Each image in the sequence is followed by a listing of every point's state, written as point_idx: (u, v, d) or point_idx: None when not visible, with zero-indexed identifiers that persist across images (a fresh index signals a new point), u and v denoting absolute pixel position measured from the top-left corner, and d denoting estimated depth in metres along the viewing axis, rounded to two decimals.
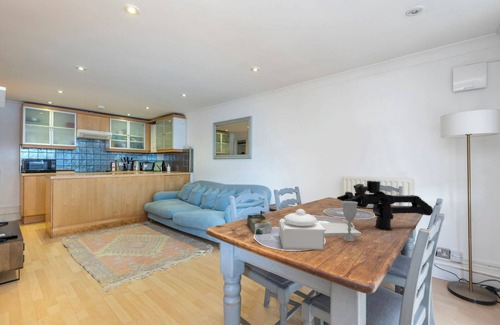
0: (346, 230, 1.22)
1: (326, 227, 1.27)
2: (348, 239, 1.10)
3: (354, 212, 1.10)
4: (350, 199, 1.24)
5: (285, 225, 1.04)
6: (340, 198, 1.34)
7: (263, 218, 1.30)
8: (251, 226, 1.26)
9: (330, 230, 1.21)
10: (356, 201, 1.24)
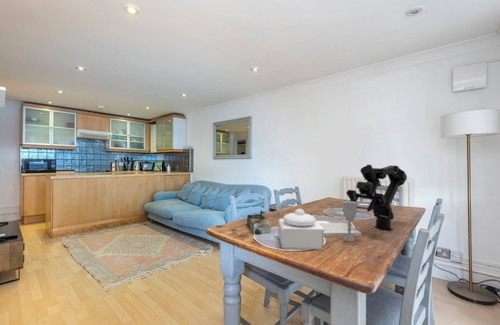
0: (346, 230, 1.22)
1: (326, 227, 1.27)
2: (348, 239, 1.10)
3: (354, 212, 1.10)
4: (371, 206, 1.13)
5: (284, 225, 1.04)
6: None
7: (263, 218, 1.30)
8: (250, 226, 1.26)
9: (330, 230, 1.21)
10: (374, 202, 1.14)
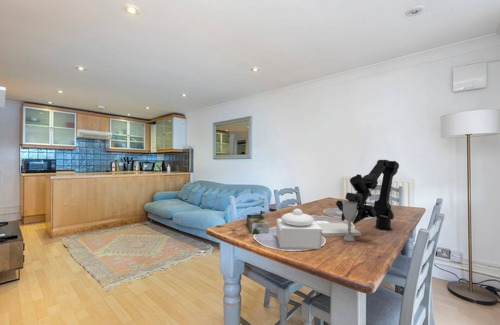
0: (346, 230, 1.22)
1: (326, 227, 1.27)
2: (348, 239, 1.10)
3: (354, 212, 1.09)
4: (357, 218, 1.09)
5: (282, 225, 1.05)
6: (344, 217, 1.15)
7: (262, 218, 1.31)
8: (249, 226, 1.27)
9: (330, 230, 1.21)
10: (361, 214, 1.10)
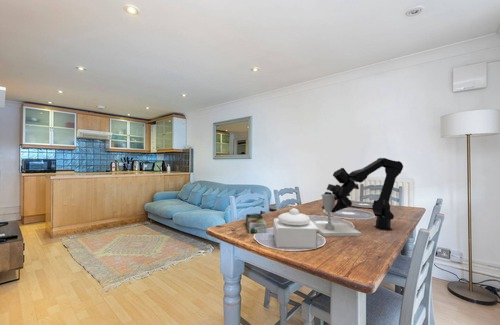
0: (346, 230, 1.22)
1: None
2: (327, 228, 1.23)
3: (330, 204, 1.22)
4: (335, 207, 1.18)
5: (279, 224, 1.05)
6: None
7: (260, 218, 1.31)
8: (247, 225, 1.28)
9: (330, 230, 1.21)
10: (340, 204, 1.19)
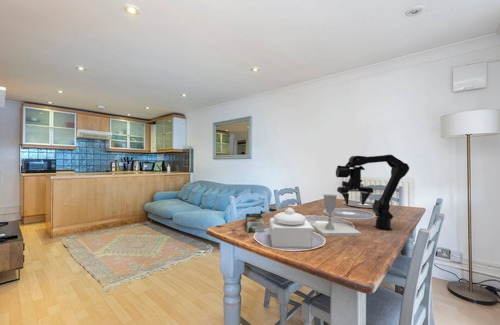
0: (346, 230, 1.22)
1: None
2: (327, 228, 1.23)
3: (332, 204, 1.21)
4: None
5: (274, 224, 1.06)
6: (362, 201, 1.32)
7: (259, 217, 1.32)
8: (246, 224, 1.29)
9: (330, 230, 1.21)
10: (345, 194, 1.32)
